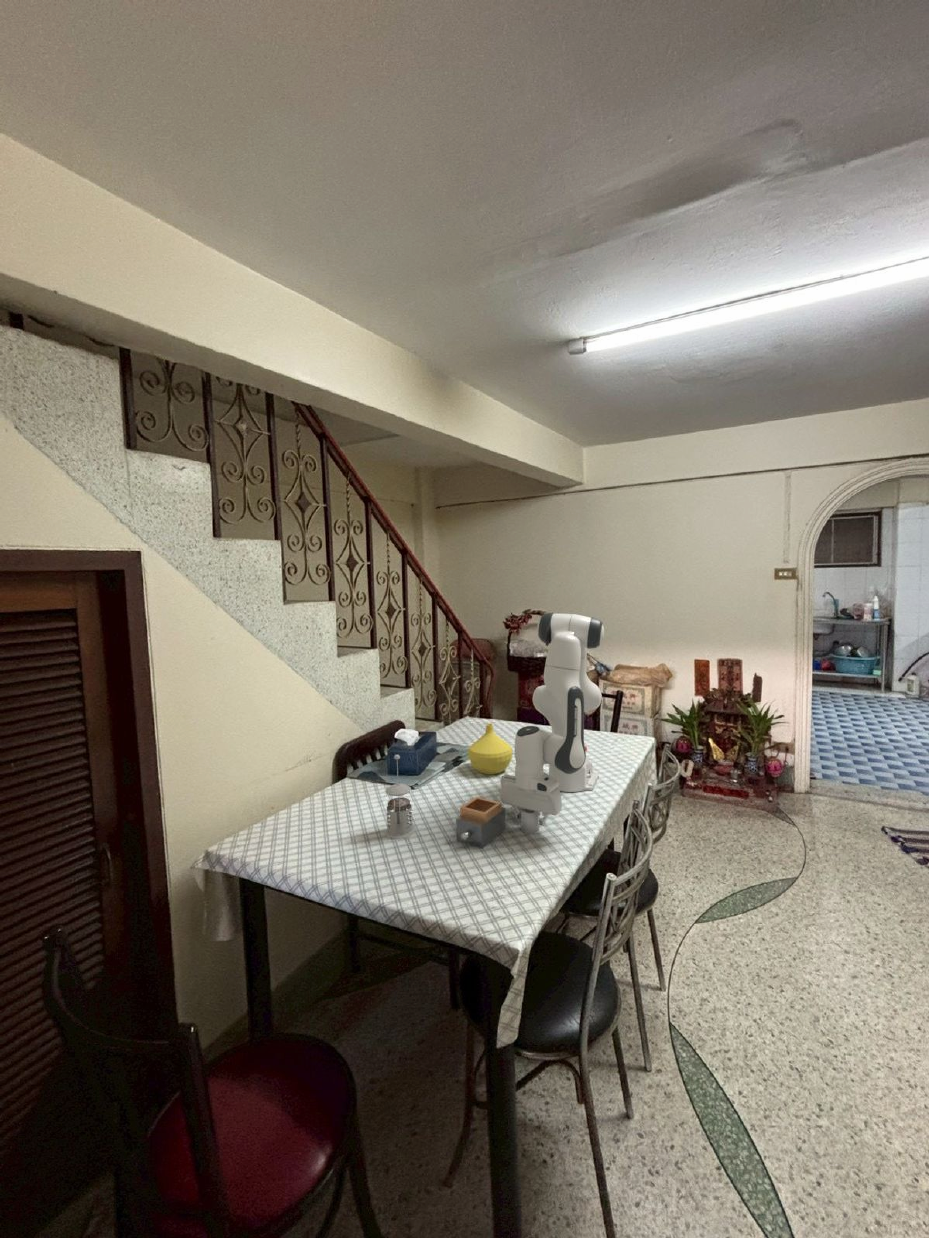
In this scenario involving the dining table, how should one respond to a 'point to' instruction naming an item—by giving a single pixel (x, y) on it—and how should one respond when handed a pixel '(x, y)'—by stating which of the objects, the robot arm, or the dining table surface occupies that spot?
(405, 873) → the dining table surface
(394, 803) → the french press
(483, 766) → the vase
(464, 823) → the grey box with knob
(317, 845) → the dining table surface
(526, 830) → the light grey rounded bottle
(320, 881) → the dining table surface
